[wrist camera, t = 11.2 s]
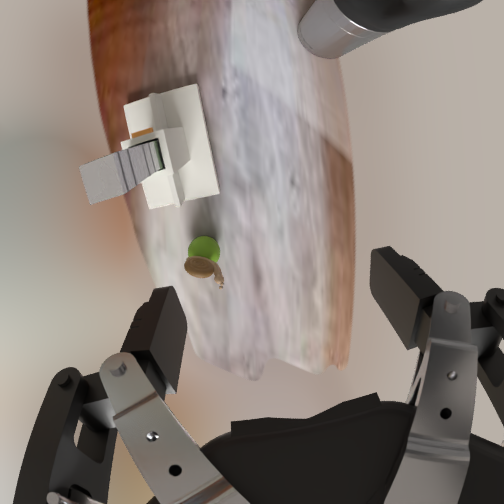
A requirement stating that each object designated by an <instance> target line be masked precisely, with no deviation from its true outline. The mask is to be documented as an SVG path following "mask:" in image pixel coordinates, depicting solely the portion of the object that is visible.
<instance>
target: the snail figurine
mask: <svg viewBox="0 0 504 504" xmlns="http://www.w3.org/2000/svg"><path fill="white" fill-rule="evenodd" d="M188 256H189V257H188V258H187V259H186V260H187V261H186V262H185V264H184V267H185V270H186V271H187V272H188V273H189V274H190V275H192V276H194V277H198V278H207V277H209V276H211V275H212V274H213V272H214V275H215V278H214V280H215V282H216V283H218V284H220V285H221V286H220V287H219V288H220V289H222V288H223V285H224V283H223V282H224V277H223V276H222V272H221V269H220V267H219V266H218V264H217V263H216V262H217V261H218V259H219V256H220V248H219V245H218V243H217V242H216V241H215V240H214V239H213V238H211V237H208V236H200V237H197V238H196V239H194V240H193V241H192V242H191V244H190V245H189V248H188Z"/></svg>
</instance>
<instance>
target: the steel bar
mask: <svg viewBox="0 0 504 504" xmlns="http://www.w3.org/2000/svg"><path fill="white" fill-rule="evenodd" d="M164 166H165V164H164V160H163V156H162V152H161V148H160V143H159V140H156V141H152V142H149V143H145V144H141V145H138V146H135V147H132V148H129V149H125V150H122V151H118V152H115V153H112V154H110V155H107V156H104V157H101V158H99V159H96V160H94V161H91V162H88V163H86V164H84V165H82V166H79V169H80V173H81V176H82V179H83V183H84V186H85V190H86V193H87V196H88V200H89V203H90V205H91V204H94V203H97V202H100V201H103V200H106V199H110V198H113V197H116V196H119V195H123V194H125V193H126V192H128V191H129V190H130V189H132V188H133V187H135V186H137V184H139V183H140V182H142V181H143V180H145V179H146V178H147V177H149V176H151V175H152V174H153V173H155V172H156V171H158V170H159V169H162V168H163V167H164Z"/></svg>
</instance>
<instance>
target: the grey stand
mask: <svg viewBox="0 0 504 504" xmlns="http://www.w3.org/2000/svg"><path fill="white" fill-rule="evenodd" d="M124 111H125V115H126V120H127V125H128V129H129V134H130V138H131V139H129V140H126V141H123V142H121V146H122V150H125V149H129V148H132V147H135V146H138V145H141V144H145V143H149V142H152V141H156V140H159V143H160V148H161V152H162V156H163V160H164V164H165V166H164V167H163V168H162V169H159V170H158V171H156V172H155V173H153V174H152V175H151V176H149V177H147V178H146V179H145V180H143V181H142V182H140V183H142V185H143V189H144V192H145V196H146V199H147V203H148V206H149V210H150V209H154V208H158V207H162V206H166V205H170V204H175V208H177V207H181V205H182V204H183V202H184V201H188V200H192V199H197V198H201V197H206V196H211V195H216V194H220V187H219V183H218V178H217V173H216V169H215V164H214V159H213V155H212V150H211V145H210V140H209V136H208V131H207V126H206V121H205V116H204V111H203V107H202V102H201V97H200V92H199V87H198V85H197V84H193V85H189V86H185V87H181V88H177V89H174V90H170V91H167V92H163V93H160V94H157V93H151V94H149V97H147V98H144V99H141V100H138V101H135V102H132V103H130V104H127V105H124Z"/></svg>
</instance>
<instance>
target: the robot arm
mask: <svg viewBox="0 0 504 504" xmlns="http://www.w3.org/2000/svg"><path fill="white" fill-rule="evenodd" d="M481 1H482V0H316V1H315V2H314V3H313V5H312V6H311V7H310V9H309V10H308V11H307V13H306V14H305V16H304V17H303V18H302V20H301V21H300V23H299V26H298V36H299V39H300V41H301V43H302V44H303V46H304V47H305V48H306V49H307V50H308V51H310V52H311V53H313V54H314V55H316V56H319V57H322V58H328V59H332V58H338V57H341V56H343V55H344V54H346V53H348V52H350V51H352V50H354V49H356V48H358V47H360V46H362V45H364V44H366V43H368V42H370V41H372V40H374V39H376V38H378V37H381V36H382V35H385V34H387V33H389V32H391V31H393V30H396V29H399V28H402V27H405V26H407V25H410V24H412V23H416V22H419V21H423V20H426V19H431V18H435V17H439V16H444V15H447V14H451V13H455V12H458V11H461V10H464V9H467V8H469V7H472V6H474V5H476V4H478V3H480V2H481ZM370 266H371V268H370V289H371V293H372V295H373V297H374V299H375V300H376V302H377V303H378V304H379V306H380V308H381V309H382V311H383V312H384V314H385V315H386V317H387V318H388V320H389V322H390V323H391V325H392V326H393V328H394V329H395V331H396V333H397V334H398V336H399V337H400V339H401V341H402V342H403V344H404V345H405V347H406V349H407V350H409V349H412V348H415V347H418V348H419V349H420V352H419V355H418V359H417V363H416V367H415V372H414V375H413V379H412V383H411V387H410V391H409V394H408V397H407V400H406V403H402V402H396V401H380V399H379V397H378V395H377V392H376V393H372V394H369V395H366V396H363V397H359V398H356V399H352V400H349V401H345V402H342V403H340V404H338V405H336V406H334V407H332V408H330V409H328V410H326V411H324V412H322V413H319V414H317V415H315V416H313V417H310V418H307V419H289V418H270V417H267V418H259V419H251V420H243V421H232V422H231V432H228V433H225V434H223V435H220V436H218V437H216V438H215V439H213V440H211V441H209V442H208V443H206V444H205V445H204V446H203V447H201V448H200V447H199V446H198V444H197V443H196V442H195V441H194V440H193V438H192V437H191V436H190V435H189V434H188V432H187V431H186V430H185V429H184V427H183V426H182V425H181V424H180V422H179V421H178V419H177V418H176V417H175V415H174V414H173V413H172V411H171V410H170V409H169V407H168V406H167V404H166V403H165V402H164V400H165V394H176V392H177V386H178V379H179V373H180V368H181V362H182V356H183V350H184V345H185V339H186V334H187V321H186V317H185V314H184V311H183V309H182V306H181V304H180V301H179V299H178V296H177V293H176V291H175V289H174V287H173V286H168V287H162V288H156V289H154V290H153V292H152V295H151V297H150V300H149V302H145V303H144V304H143V305H142V306H141V307H140V308H139V309H138V310H137V312H136V314H135V316H134V319H133V322H132V323H131V326H130V329H129V331H128V333H127V336H126V338H125V340H124V343H123V345H122V348H121V350H120V353H117V354H114V355H112V356H110V357H109V358H107V359H106V360H105V361H104V363H103V364H102V365H101V367H100V371H99V372H97V373H94V374H90V375H87V376H82V375H81V373H80V372H79V371H78V370H77V369H76V368H73V367H68V368H65V369H63V370H61V371H60V372H58V373H57V374H56V375H55V376H54V378H53V379H52V381H51V384H50V386H49V388H48V391H47V393H46V396H45V398H44V401H43V403H42V406H41V408H40V411H39V414H38V416H37V419H36V422H35V424H34V427H33V430H32V433H31V436H30V439H29V442H28V445H27V449H26V452H25V455H24V459H23V463H22V466H21V470H20V474H19V478H18V482H17V486H16V491H15V496H14V501H13V504H107V500H108V490H109V481H110V475H111V468H112V461H113V454H114V449H115V442H116V437H117V431H118V432H119V434H120V436H121V438H122V440H123V442H124V444H125V446H126V448H127V449H128V452H129V453H130V455H131V457H132V459H133V461H134V462H135V464H136V466H137V468H138V469H139V471H140V473H141V474H142V476H143V478H144V479H145V481H146V483H147V484H148V486H149V487H150V489H151V490H152V492H153V493H154V495H155V496H154V497H153V498H152V499H151V500H150V501H149V502H148V503H147V504H504V440H503V442H502V444H501V446H500V445H498V444H495V443H493V442H490V441H488V440H486V439H484V438H481V437H479V436H476V435H474V434H472V433H471V426H472V420H473V413H474V404H475V395H476V383H477V377H478V378H479V380H480V382H481V384H482V385H483V387H484V389H485V391H486V393H487V394H488V396H489V398H490V400H491V402H492V404H493V406H494V408H495V410H496V412H497V414H498V416H499V418H500V420H501V422H502V424H503V426H504V354H503V353H502V351H501V350H500V348H499V347H498V346H499V344H500V342H501V340H502V338H503V339H504V289H500V288H492V289H490V290H488V292H487V293H486V296H485V299H484V301H482V302H470V303H469V301H468V300H467V299H466V298H465V297H464V296H463V295H461V294H459V293H457V292H453V291H443V290H442V289H441V288H440V287H439V286H438V285H437V284H436V283H435V282H434V281H433V280H432V279H431V278H430V277H429V276H428V275H427V274H425V272H424V271H423V270H422V269H420V267H419V266H418V265H417V264H416V263H415V262H414V261H413V260H411V259H409V258H407V257H405V256H403V255H402V256H400V255H399V254H398V253H397V252H395V250H393V248H392V247H390V246H387V247H382V248H378V249H373V250H372V252H371V265H370ZM78 420H80V421H81V422H82V423H83V425H82V429H81V432H80V436H79V440H78V444H77V447H76V446H75V443H74V433H75V430H76V426H77V423H78Z"/></svg>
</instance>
